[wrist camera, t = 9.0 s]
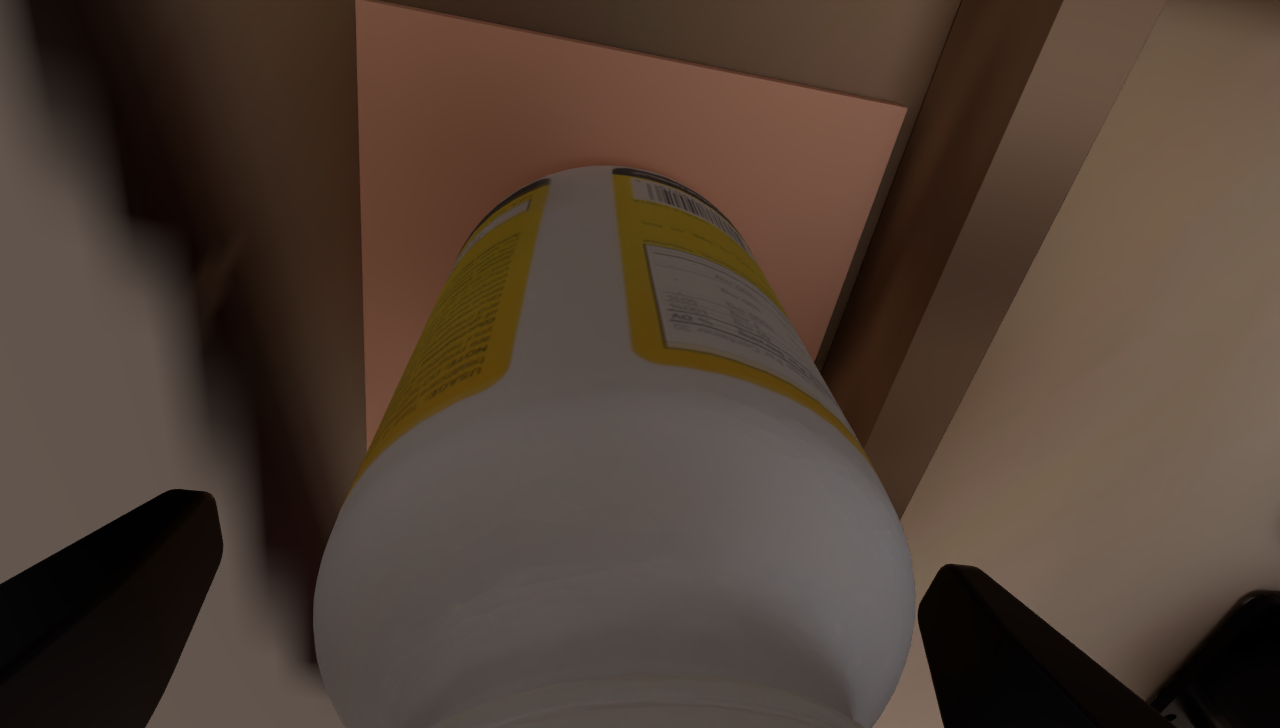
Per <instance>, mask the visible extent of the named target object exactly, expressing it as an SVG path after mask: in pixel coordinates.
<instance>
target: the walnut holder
mask: <svg viewBox="0 0 1280 728" xmlns="http://www.w3.org/2000/svg"><path fill="white" fill-rule="evenodd" d="M1166 1H1167V0H962V2H961V5H960V8H959V10H958V13H957V15H956V18H955V21H954V23H953V26H952V29H951V31H950V34H949V37H948V39H947V42H946V45H945V47H944V50H943V53H942V55H941V58H940V60H939V63H938V66H937V68H936V71H935V74H934V76H933V79H932V82H931V84H930V87H929V90H928V92H927V95H926V98H925V100H924V103H923V106H922V108H921V111H920V113H919V116H918V119H917V121H916V124H915V127H914V129H913V132H912V135H911V137H910V140H909V143H908V145H907V148H906V151H905V153H904V156H903V158H902V161H901V164H900V166H899V169H898V172H897V174H896V177H895V180H894V182H893V185H892V188H891V190H890V193H889V196H888V198H887V201H886V203H885V206H884V209H883V211H882V214H881V217H880V219H879V222H878V225H877V227H876V230H875V233H874V235H873V238H872V241H871V243H870V246H869V249H868V251H867V254H866V256H865V259H864V262H863V264H862V267H861V270H860V272H859V275H858V278H857V280H856V283H855V286H854V288H853V291H852V294H851V296H850V299H849V301H848V304H847V307H846V309H845V312H844V315H843V317H842V320H841V323H840V325H839V328H838V331H837V333H836V336H835V339H834V341H833V344H832V346H831V349H830V352H829V354H828V357H827V360H826V362H825V365H824V368H823V370H822V373H821V376H822V378H823V379H824V381H825V383H826V385H827V386H828V388H829V390H830V391H831V393H832V395H833V397H834V398H835V400H836V402H837V404H838V405H839V407H840V409H841V411H842V412H843V414H844V416H845V418H846V419H847V421H848V423H849V425H850V426H851V428H852V430H853V432H854V433H855V435H856V437H857V439H858V440H859V442H860V444H861V446H862V448H863V449H864V451H865V453H866V455H867V456H868V458H869V460H870V462H871V464H872V466H873V468H874V469H875V471H876V473H877V475H878V477H879V479H880V481H881V483H882V485H883V487H884V489H885V491H886V493H887V495H888V497H889V499H890V501H891V503H892V505H893V507H894V509H895V511H896V513H897V515H898V518H899V520H900V519H901V517H902V515H903V513H904V511H905V509H906V507H907V505H908V503H909V502H910V500H911V498H912V496H913V494H914V492H915V490H916V488H917V486H918V484H919V482H920V480H921V478H922V476H923V474H924V472H925V470H926V468H927V466H928V465H929V463H930V461H931V459H932V457H933V455H934V453H935V451H936V449H937V447H938V445H939V443H940V441H941V439H942V437H943V435H944V433H945V431H946V430H947V428H948V426H949V424H950V422H951V420H952V418H953V416H954V414H955V412H956V410H957V408H958V406H959V404H960V402H961V400H962V398H963V396H964V394H965V393H966V391H967V389H968V387H969V385H970V383H971V381H972V379H973V377H974V375H975V373H976V371H977V369H978V367H979V365H980V363H981V361H982V359H983V358H984V356H985V354H986V352H987V350H988V348H989V346H990V344H991V342H992V340H993V338H994V336H995V334H996V332H997V330H998V328H999V326H1000V324H1001V322H1002V321H1003V319H1004V317H1005V315H1006V313H1007V311H1008V309H1009V307H1010V305H1011V303H1012V301H1013V299H1014V297H1015V295H1016V293H1017V291H1018V289H1019V287H1020V285H1021V284H1022V282H1023V280H1024V278H1025V276H1026V274H1027V272H1028V270H1029V268H1030V266H1031V264H1032V262H1033V260H1034V258H1035V256H1036V254H1037V252H1038V250H1039V249H1040V247H1041V245H1042V243H1043V241H1044V239H1045V237H1046V235H1047V233H1048V231H1049V229H1050V227H1051V225H1052V223H1053V221H1054V219H1055V217H1056V215H1057V213H1058V212H1059V210H1060V208H1061V206H1062V204H1063V202H1064V200H1065V198H1066V196H1067V194H1068V192H1069V190H1070V188H1071V186H1072V184H1073V182H1074V180H1075V178H1076V176H1077V175H1078V173H1079V171H1080V169H1081V167H1082V165H1083V163H1084V161H1085V159H1086V157H1087V155H1088V153H1089V151H1090V149H1091V147H1092V145H1093V143H1094V141H1095V140H1096V138H1097V136H1098V134H1099V132H1100V130H1101V128H1102V126H1103V124H1104V122H1105V120H1106V118H1107V116H1108V114H1109V112H1110V110H1111V108H1112V106H1113V104H1114V103H1115V101H1116V99H1117V97H1118V95H1119V93H1120V91H1121V89H1122V87H1123V85H1124V83H1125V81H1126V79H1127V77H1128V75H1129V73H1130V71H1131V69H1132V67H1133V66H1134V64H1135V62H1136V60H1137V58H1138V56H1139V54H1140V52H1141V50H1142V48H1143V46H1144V44H1145V42H1146V40H1147V38H1148V36H1149V34H1150V32H1151V31H1152V29H1153V27H1154V25H1155V23H1156V21H1157V19H1158V17H1159V15H1160V13H1161V11H1162V9H1163V7H1164V5H1165V3H1166Z"/></svg>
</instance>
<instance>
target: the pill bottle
mask: <svg viewBox="0 0 1280 728" xmlns="http://www.w3.org/2000/svg"><path fill="white" fill-rule="evenodd" d="M914 619H915V582H914V575H913V569H912V562H911V555H910V551H909V548H908V544H907V540H906V537H905V534H904V531H903V528H902V525H901V523H900V520H899V518H898V515H897V513H896V511H895V509H894V507H893V505H892V503H891V501H890V499H889V497H888V495H887V493H886V491H885V489H884V487H883V485H882V483H881V481H880V479H879V477H878V475H877V473H876V471H875V469H874V468H873V466H872V464H871V462H870V460H869V458H868V456H867V455H866V453H865V451H864V449H863V448H862V446H861V444H860V442H859V440H858V439H857V437H856V435H855V433H854V432H853V430H852V428H851V426H850V425H849V423H848V421H847V419H846V418H845V416H844V414H843V412H842V411H841V409H840V407H839V405H838V404H837V402H836V400H835V398H834V397H833V395H832V393H831V391H830V390H829V388H828V386H827V385H826V383H825V381H824V379H823V378H822V376H821V374H820V372H819V371H818V369H817V367H816V365H815V364H814V362H813V360H812V358H811V357H810V355H809V353H808V352H807V350H806V348H805V346H804V345H803V343H802V341H801V339H800V338H799V336H798V334H797V332H796V331H795V329H794V327H793V325H792V323H791V322H790V320H789V318H788V316H787V314H786V313H785V311H784V309H783V307H782V305H781V304H780V302H779V300H778V298H777V297H776V295H775V293H774V291H773V289H772V288H771V286H770V284H769V283H768V281H767V279H766V277H765V276H764V274H763V272H762V270H761V268H760V267H759V265H758V263H757V261H756V259H755V258H754V256H753V254H752V253H751V251H750V249H749V247H748V245H747V244H746V242H745V241H744V239H743V238H742V236H741V235H740V234H739V232H738V231H737V229H736V228H735V227H734V226H733V224H732V223H731V222H730V220H729V219H728V218H727V217H726V216H725V215H724V214H723V213H722V212H721V211H720V210H719V209H718V208H717V207H715V206H714V205H713V204H712V203H710V202H709V201H708V200H707V199H705V198H704V197H702V196H701V195H700V194H698V193H697V192H695V191H694V190H692V189H690V188H688V187H687V186H685V185H683V184H681V183H679V182H677V181H675V180H673V179H670V178H668V177H665V176H663V175H660V174H658V173H654V172H650V171H646V170H642V169H637V168H631V167H625V166H586V167H579V168H572V169H568V170H565V171H561V172H557V173H554V174H550V175H547V176H545V177H543V178H540V179H538V180H535V181H533V182H531V183H529V184H527V185H525V186H523V187H522V188H520V189H518V190H517V191H515V192H513V193H512V194H510V195H509V196H508V197H506V198H505V199H504V200H502V201H501V202H500V203H499V204H497V205H496V206H495V207H494V208H493V209H492V210H491V211H490V212H489V213H488V214H487V215H486V216H485V217H484V218H483V219H482V220H481V221H480V222H479V224H478V225H477V226H476V227H475V229H474V230H473V231H472V233H471V234H470V236H469V237H468V239H467V240H466V242H465V244H464V245H463V247H462V249H461V250H460V252H459V254H458V256H457V258H456V261H455V263H454V265H453V267H452V270H451V272H450V274H449V276H448V278H447V280H446V283H445V285H444V287H443V289H442V291H441V293H440V295H439V297H438V299H437V301H436V303H435V306H434V308H433V310H432V312H431V314H430V316H429V318H428V321H427V323H426V325H425V327H424V329H423V331H422V334H421V336H420V338H419V340H418V342H417V344H416V347H415V349H414V351H413V353H412V355H411V357H410V359H409V362H408V364H407V366H406V368H405V370H404V372H403V375H402V377H401V379H400V381H399V383H398V385H397V388H396V390H395V392H394V394H393V396H392V399H391V401H390V403H389V405H388V407H387V410H386V412H385V414H384V416H383V418H382V421H381V423H380V425H379V427H378V429H377V431H376V434H375V436H374V438H373V440H372V442H371V445H370V447H369V449H368V451H367V453H366V456H365V458H364V460H363V462H362V464H361V466H360V469H359V471H358V473H357V475H356V477H355V479H354V482H353V484H352V486H351V488H350V490H349V492H348V495H347V497H346V499H345V501H344V503H343V505H342V508H341V510H340V512H339V515H338V518H337V520H336V523H335V525H334V528H333V530H332V533H331V535H330V538H329V540H328V543H327V546H326V549H325V551H324V554H323V557H322V561H321V565H320V569H319V574H318V578H317V583H316V590H315V596H314V612H313V627H314V639H315V648H316V655H317V661H318V665H319V668H320V672H321V675H322V679H323V682H324V686H325V689H326V691H327V693H328V695H329V697H330V699H331V701H332V704H333V706H334V708H335V710H336V712H337V713H338V715H339V717H340V719H341V721H342V723H343V724H344V726H345V727H346V728H872V726H873V725H874V724H875V722H876V721H877V720H878V718H879V717H880V715H881V714H882V712H883V710H884V708H885V707H886V705H887V703H888V702H889V700H890V698H891V696H892V695H893V693H894V691H895V689H896V686H897V684H898V681H899V678H900V676H901V673H902V671H903V668H904V666H905V663H906V659H907V656H908V652H909V649H910V645H911V639H912V633H913V626H914Z"/></svg>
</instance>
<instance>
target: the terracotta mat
mask: <svg viewBox="0 0 1280 728" xmlns="http://www.w3.org/2000/svg"><path fill="white" fill-rule="evenodd" d="M355 7H356V46H357V85H358V123H359V162H360V201H361V239H362V278H363V317H364V356H365V394H366V433H367V451H368V449H369V447H370V445H371V442H372V440H373V438H374V436H375V434H376V431H377V429H378V427H379V425H380V423H381V421H382V418H383V416H384V414H385V412H386V410H387V407H388V405H389V403H390V401H391V399H392V396H393V394H394V392H395V390H396V388H397V385H398V383H399V381H400V379H401V377H402V375H403V372H404V370H405V368H406V366H407V364H408V362H409V359H410V357H411V355H412V353H413V351H414V349H415V347H416V344H417V342H418V340H419V338H420V336H421V334H422V331H423V329H424V327H425V325H426V323H427V321H428V318H429V316H430V314H431V312H432V310H433V308H434V306H435V303H436V301H437V299H438V297H439V295H440V293H441V291H442V289H443V287H444V285H445V283H446V280H447V278H448V276H449V274H450V272H451V270H452V267H453V265H454V263H455V261H456V258H457V256H458V254H459V252H460V250H461V249H462V247H463V245H464V244H465V242H466V240H467V239H468V237H469V236H470V234H471V233H472V231H473V230H474V229H475V227H476V226H477V225H478V224H479V222H480V221H481V220H482V219H483V218H484V217H485V216H486V215H487V214H488V213H489V212H490V211H491V210H492V209H493V208H494V207H495V206H496V205H497V204H499V203H500V202H501V201H502V200H504V199H505V198H506V197H508V196H509V195H510V194H512V193H513V192H515V191H517V190H518V189H520V188H522V187H523V186H525V185H527V184H529V183H531V182H533V181H535V180H538V179H540V178H543V177H545V176H547V175H550V174H554V173H557V172H561V171H565V170H568V169H572V168H579V167H586V166H625V167H631V168H637V169H642V170H646V171H650V172H654V173H658V174H660V175H663V176H665V177H668V178H670V179H673V180H675V181H677V182H679V183H681V184H683V185H685V186H687V187H688V188H690V189H692V190H694V191H695V192H697V193H698V194H700V195H701V196H702V197H704V198H705V199H707V200H708V201H709V202H710V203H712V204H713V205H714V206H715V207H717V208H718V209H719V210H720V211H721V212H722V213H723V214H724V215H725V216H726V217H727V218H728V219H729V220H730V222H731V223H732V224H733V226H734V227H735V228H736V229H737V231H738V232H739V234H740V235H741V236H742V238H743V239H744V241H745V242H746V244H747V245H748V247H749V249H750V251H751V253H752V254H753V256H754V258H755V259H756V261H757V263H758V265H759V267H760V268H761V270H762V272H763V274H764V276H765V277H766V279H767V281H768V283H769V284H770V286H771V288H772V289H773V291H774V293H775V295H776V297H777V298H778V300H779V302H780V304H781V305H782V307H783V309H784V311H785V313H786V314H787V316H788V318H789V320H790V322H791V323H792V325H793V327H794V329H795V331H796V332H797V334H798V336H799V338H800V339H801V341H802V343H803V345H804V346H805V348H806V350H807V352H808V353H809V355H810V357H811V358H812V360H813V362H815V359H816V357H817V354H818V351H819V348H820V346H821V343H822V340H823V338H824V335H825V332H826V329H827V327H828V324H829V321H830V319H831V316H832V313H833V310H834V308H835V305H836V302H837V300H838V297H839V294H840V291H841V289H842V286H843V283H844V280H845V278H846V275H847V272H848V270H849V267H850V264H851V261H852V259H853V256H854V253H855V251H856V248H857V245H858V242H859V240H860V237H861V234H862V232H863V229H864V226H865V223H866V221H867V218H868V215H869V213H870V210H871V207H872V204H873V202H874V199H875V196H876V194H877V191H878V188H879V185H880V183H881V180H882V177H883V174H884V172H885V169H886V166H887V164H888V161H889V158H890V155H891V153H892V150H893V147H894V145H895V142H896V139H897V136H898V134H899V131H900V128H901V126H902V123H903V120H904V117H905V115H906V112H907V109H908V108H907V107H904V106H902V105H900V104H898V103H894V102H889V101H883V100H878V99H873V98H868V97H863V96H858V95H853V94H848V93H843V92H838V91H833V90H828V89H823V88H818V87H813V86H808V85H803V84H798V83H793V82H788V81H783V80H778V79H773V78H768V77H763V76H758V75H753V74H748V73H743V72H737V71H732V70H727V69H722V68H717V67H712V66H707V65H702V64H697V63H692V62H687V61H682V60H677V59H672V58H667V57H662V56H657V55H652V54H647V53H642V52H637V51H632V50H627V49H622V48H617V47H612V46H607V45H602V44H597V43H591V42H586V41H581V40H576V39H571V38H566V37H561V36H556V35H551V34H546V33H541V32H536V31H531V30H526V29H521V28H516V27H511V26H506V25H501V24H496V23H491V22H486V21H481V20H476V19H471V18H466V17H461V16H456V15H451V14H445V13H440V12H435V11H430V10H425V9H420V8H415V7H410V6H405V5H400V4H395V3H390V2H385V1H380V0H355Z"/></svg>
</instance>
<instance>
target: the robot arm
mask: <svg viewBox="0 0 1280 728" xmlns="http://www.w3.org/2000/svg"><path fill="white" fill-rule="evenodd" d="M222 553H223V539H222V533H221V528H220V522H219V516H218V511H217V505H216V501H215V498H214V497H213V496H212V495H211V494H210V493H208V492H204V491H193V490H183V489H172V490H169V491H167V492H164V493H162V494H160V495H159V496H157V497H155V498H153V499H151V500H150V501H148V502H146V503H144V504H143V505H141V506H139V507H137V508H135V509H134V510H132V511H130V512H128V513H127V514H125V515H123V516H121V517H119V518H117V519H116V520H114V521H112V522H110V523H109V524H107V525H105V526H103V527H101V528H100V529H98V530H96V531H94V532H93V533H91V534H89V535H87V536H85V537H84V538H82V539H80V540H78V541H76V542H75V543H73V544H71V545H69V546H67V547H66V548H64V549H62V550H61V551H59V552H57V553H55V554H53V555H51V556H50V557H48V558H46V559H44V560H42V561H41V562H39V563H37V564H35V565H33V566H32V567H30V568H28V569H26V570H25V571H23V572H21V573H19V574H18V575H16V576H14V577H12V578H10V579H9V580H7V581H5V582H3V583H1V584H0V728H145V727H146V725H147V724H148V722H149V720H150V718H151V716H152V715H153V713H154V711H155V709H156V707H157V705H158V703H159V701H160V699H161V697H162V696H163V694H164V692H165V689H166V687H167V685H168V683H169V680H170V679H171V676H172V674H173V672H174V670H175V667H176V665H177V663H178V660H179V658H180V656H181V653H182V651H183V649H184V646H185V644H186V642H187V639H188V637H189V635H190V632H191V630H192V628H193V625H194V623H195V621H196V618H197V616H198V613H199V611H200V609H201V607H202V604H203V602H204V600H205V597H206V595H207V593H208V590H209V588H210V586H211V583H212V581H213V579H214V576H215V574H216V572H217V569H218V567H219V564H220V561H221V558H222ZM918 624H919V628H920V632H921V636H922V640H923V644H924V648H925V652H926V657H927V661H928V665H929V669H930V673H931V677H932V681H933V685H934V689H935V693H936V697H937V701H938V705H939V709H940V713H941V718H942V721H943V725H944V728H1177V727H1178V728H1280V595H1261V596H1258V597H1255V598H1254V599H1252V600H1250V601H1249V602H1248V603H1246V604H1245V605H1244V606H1243V607H1242V609H1241V610H1240V611H1239V612H1238V613H1237V614H1236V615H1235V616H1234V617H1233V618H1232V619H1231V620H1230V621H1229V622H1228V623H1227V624H1226V625H1225V627H1224V628H1223V629H1222V630H1221V631H1220V632H1219V633H1218V634H1217V635H1216V636H1215V637H1214V638H1213V639H1212V640H1211V641H1210V642H1209V643H1208V645H1207V646H1206V647H1205V648H1204V649H1203V650H1202V651H1201V652H1200V653H1199V654H1198V655H1197V656H1196V657H1195V658H1194V659H1193V660H1192V661H1191V662H1190V664H1189V665H1188V666H1187V667H1186V668H1185V669H1184V670H1183V671H1182V672H1181V673H1180V674H1179V675H1178V676H1177V677H1176V678H1175V679H1174V680H1173V682H1172V683H1171V684H1170V685H1169V686H1168V687H1167V688H1166V689H1165V690H1164V691H1163V692H1162V693H1161V694H1160V695H1159V696H1158V697H1157V698H1156V699H1155V701H1154V702H1153V703H1152V704H1151V705H1149V704H1147V703H1146V702H1145V701H1144V700H1142V699H1141V698H1140V697H1139V696H1137V695H1136V694H1135V693H1134V692H1132V691H1131V690H1130V689H1129V688H1127V687H1126V686H1125V685H1124V684H1122V683H1121V682H1120V681H1119V680H1117V679H1116V678H1115V677H1114V676H1113V675H1111V674H1110V673H1109V672H1108V671H1106V670H1105V669H1104V668H1103V667H1101V666H1100V665H1099V664H1098V663H1096V662H1095V661H1094V660H1093V659H1091V658H1090V657H1089V656H1088V655H1086V654H1085V653H1084V652H1083V651H1081V650H1080V649H1079V648H1078V647H1076V646H1075V645H1074V644H1073V643H1071V642H1070V641H1069V640H1068V639H1066V638H1065V637H1064V636H1063V635H1061V634H1060V633H1059V632H1058V631H1057V630H1055V629H1054V628H1053V627H1052V626H1050V625H1049V624H1048V623H1047V622H1045V621H1044V620H1043V619H1042V618H1040V617H1039V616H1038V615H1037V614H1035V613H1034V612H1033V611H1032V610H1030V609H1029V608H1028V607H1027V606H1025V605H1024V604H1023V603H1022V602H1020V601H1019V600H1018V599H1017V598H1015V597H1014V596H1013V595H1012V594H1010V593H1009V592H1008V591H1007V590H1006V589H1004V588H1003V587H1002V586H1001V585H999V584H998V583H997V582H996V581H994V580H993V579H992V578H991V577H989V576H988V575H987V574H986V573H984V572H983V571H982V570H980V569H979V568H977V567H974V566H968V565H958V564H946V565H944V566H943V567H941V568H940V570H939V571H938V573H937V574H936V576H935V578H934V580H933V581H932V583H931V585H930V586H929V588H928V590H927V592H926V593H925V595H924V597H923V598H922V600H921V602H920V604H919V608H918Z"/></svg>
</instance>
